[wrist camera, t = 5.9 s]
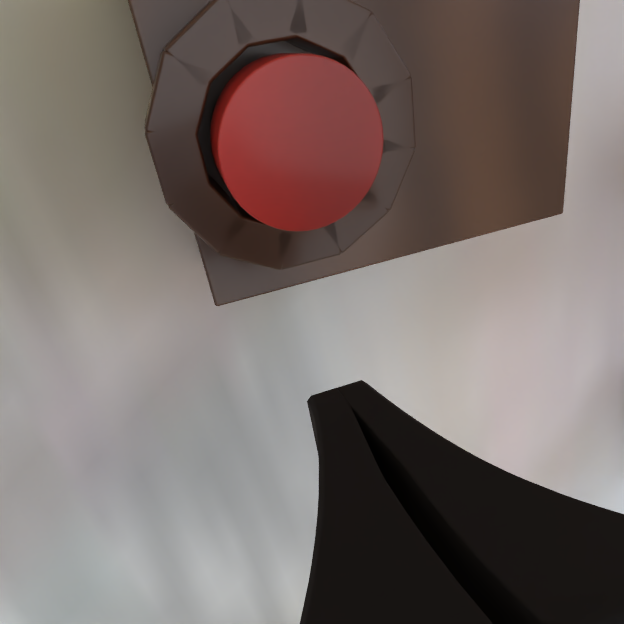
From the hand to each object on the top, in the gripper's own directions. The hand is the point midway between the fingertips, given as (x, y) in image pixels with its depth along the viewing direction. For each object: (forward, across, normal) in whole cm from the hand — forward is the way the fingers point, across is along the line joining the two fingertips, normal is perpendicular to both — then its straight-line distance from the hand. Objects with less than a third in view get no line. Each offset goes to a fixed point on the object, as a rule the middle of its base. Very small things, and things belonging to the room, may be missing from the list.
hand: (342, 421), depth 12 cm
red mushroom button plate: (+10, -4, -6) cm, 13 cm away
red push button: (+5, -1, -5) cm, 7 cm away
